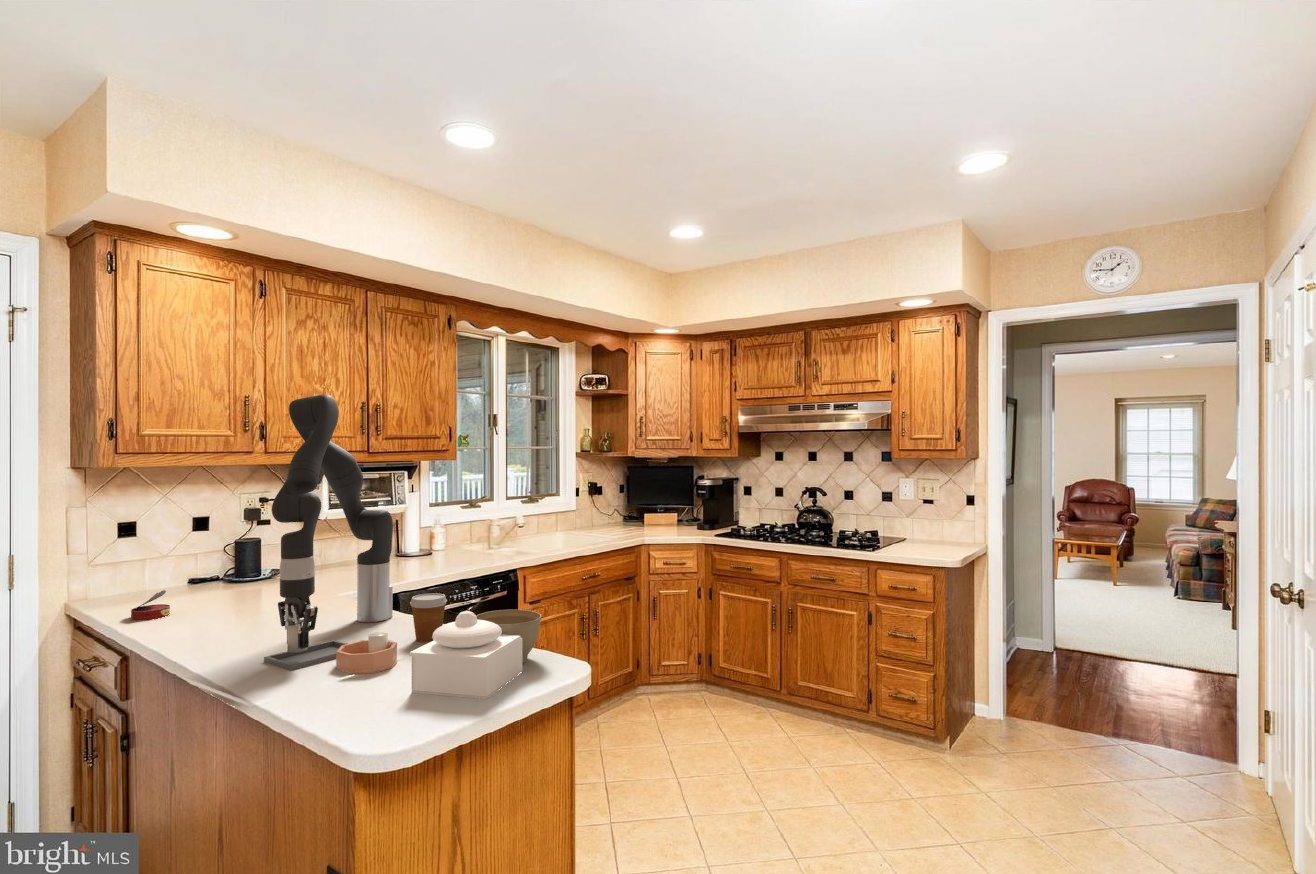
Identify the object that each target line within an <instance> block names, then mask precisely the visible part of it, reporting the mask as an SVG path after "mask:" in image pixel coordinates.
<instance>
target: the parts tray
mask: <svg viewBox="0 0 1316 874" xmlns="http://www.w3.org/2000/svg"><path fill="white" fill-rule="evenodd" d="M346 644H349V643H348V642H343V641H340V640H336V639H332V640H328V641H324V642H321V643H316V644H312V645H311V644H310V645H309V646H308V649H307V650H305V651H302V652H295V653H291V652H288V650H286V651H283V652H280V653H274V654H270V655H267V656H266V655H265V656H263V663H266V664H269V665H270V666H275V667H278V668H281V669H285V670H287V671H295V670H298V669H301V668H302V669H303V668H306V667H310V666H314V665H317V664H321V663H325V662H329V661H333V660H336V651H337V650H338V649H339V648H340V647H341V646H342V645H346Z"/></svg>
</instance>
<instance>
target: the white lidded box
mask: <svg viewBox="0 0 1316 874" xmlns="http://www.w3.org/2000/svg"><path fill="white" fill-rule="evenodd" d="M501 633H502V630H501V628H500V627H499V626H498V625H497V624H495V623H493V622H489V621H485V620H477V615H476V614H475V613H474V612H472V611H469V610H464V611H461V612H459V614H457V616H456V617H455V621H452V622H448V623H445V624H443V626H441V627H439V628H437V629H436V630H435V631H434V632H433V635H432V638H433V640H434V641H432V642H427V643H426V644H424V645H421V646H419V647H417V648H416V649H413V650H411V651H409V656H410V657H411V694H421V695H434V696H436V695H437V696H445V697H446V696H448V697H458V698H468V699H470V698H471V699H480V700H481V699H483V700H487V699H489V698H490V697H492V696H493V695H494V694H495V692H496V693H497V692H498V691H500V690H501V689H502V688H504V687H505V686H506V685H505V684H506V683H507V682H509V681H511V680H512V679H513V678H515V677H516V676H517V675H518V674H519V673H520V672H522V673H523V663H522V638H521V636H516V635H501ZM517 677H518V676H517ZM517 677H516V678H517ZM516 678H515V679H516ZM513 680H514V679H513ZM513 680H512V681H513ZM512 681H511V682H512ZM509 683H510V682H509ZM504 685H505V686H504ZM503 686H504V687H503ZM501 687H502V688H501ZM500 688H501V689H500ZM499 689H500V690H499ZM492 694H493V695H492ZM491 695H492V696H491Z"/></svg>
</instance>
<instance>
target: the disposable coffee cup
mask: <svg viewBox="0 0 1316 874" xmlns="http://www.w3.org/2000/svg"><path fill="white" fill-rule="evenodd" d="M447 602H448V599H447V598H446V595H445V594H444V593H443V594H442V593H422V594H418V595H417V594H416V595H413V596H412V597H411V600H410V602H409V604H410V607H411V610H412V618H413V626H414V634H415V641H416V642H417V643H423V644H424V643H426V644H427V643H430V642H432V641H434V640H433V638H432V635H433V632H434V631H435V630H436V629H437V628H439V627H441V626H443V625H444V617H445V611H446V610H445V609H446V604H447Z"/></svg>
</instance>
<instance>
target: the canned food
mask: <svg viewBox="0 0 1316 874" xmlns="http://www.w3.org/2000/svg"><path fill="white" fill-rule="evenodd" d="M166 592H167V591H166V589H165V590H164V589H163V590H161V591H160V592H156V593H154V594H153V595H152V596H151V597H150V599H148V600H147V601H145V602H143V603H142V604H140V605H139V606H136V607H134V608H131V610H130V620H131V621H134V620H136V622H137V621H139V620H145V621H153V620H152V619H154V620H159V619H158V618H160V619H163V618H162V617H164V618H166V617H165V616H167V617H169V616H170V615H171V609H170V608H171V606H170V604H164V603H163V604H149V603H151V602H153V601H154V600H155V601H156V599H158V598H161V597H162V596H164V595H165V594H166ZM146 604H147V605H146ZM148 604H149V605H148ZM169 614H170V615H169ZM168 615H169V616H168Z"/></svg>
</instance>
